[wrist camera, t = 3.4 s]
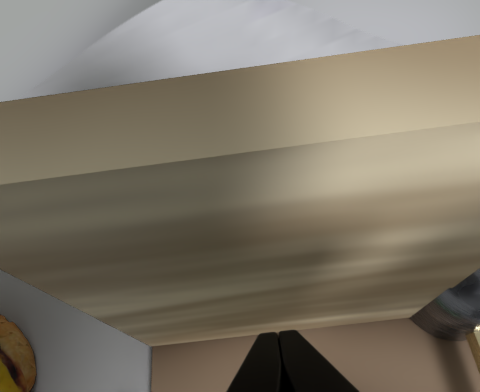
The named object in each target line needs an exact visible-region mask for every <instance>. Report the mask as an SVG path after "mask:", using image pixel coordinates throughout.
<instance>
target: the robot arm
mask: <svg viewBox="0 0 480 392" xmlns="http://www.w3.org/2000/svg"><path fill="white" fill-rule="evenodd" d="M226 392H360V391H359V390H358V389H357V388H356V387H355V386H354V385H353V384H352V383H350V382H349V381H348V380H347V379H346V378H345V377H344V376H343V375H342V374H341V373H340V372H339V371H338V370H337V369H336V368H335V367H334V366H333V365H332V364H331V363H330V362H329V361H328V360H327V359H326V358H325V357H324V356H323V355H322V354H321V353H320V352H319V351H318V350H317V349H316V348H315V347H314V346H313V345H311V344H310V343H309V342H308V341H307V340H306V339H305V338H304V337H303V336H302V335H301V334H300V333H299V332H298V331H297V330H295V329H293V330H284V331H280V332H279V333H278V334H277V333H276V332H266V333H260V334H259V335H258V336H257V338H256V340H255V342H254V343H253V345H252V347H251V349H250V350H249V352H248V354H247V356H246V357H245V359H244V361H243V363H242V365H241V366H240V368H239V370H238V372H237V373H236V375H235V377H234V379H233V380H232V382H231V384H230V386H229V387H228V389H227V391H226Z"/></svg>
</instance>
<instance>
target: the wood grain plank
mask: <svg viewBox="0 0 480 392" xmlns="http://www.w3.org/2000/svg"><path fill="white" fill-rule="evenodd" d="M0 269H1V270H2V271H4V272H6V273H8V274H10V275H12V276H14V277H16V278H18V279H20V280H22V281H24V282H26V283H28V284H30V285H32V286H34V287H36V288H38V289H40V290H42V291H43V292H45V293H47V294H49V295H51V296H53V297H55V298H57V299H59V300H61V301H63V302H65V303H67V304H69V305H71V306H73V307H75V308H77V309H79V310H81V311H82V312H84V313H86V314H88V315H90V316H92V317H94V318H96V319H98V320H100V321H102V322H104V323H106V324H108V325H110V326H112V327H114V328H116V329H118V330H120V331H122V332H123V333H125V334H127V335H129V336H131V337H133V338H135V339H137V340H139V341H141V342H143V343H145V344H147V345H149V346H160V345H169V344H178V343H187V342H196V341H205V340H214V339H223V338H232V337H241V336H250V335H259V334H260V333H266V332H280V331H284V330H293V329H295V330H303V329H312V328H321V327H330V326H339V325H348V324H357V323H366V322H375V321H384V320H393V319H402V318H410V319H411V320H412V321H413V322H414V323H415V324H416V325H417V326H418V327H420V328H421V329H422V330H424V331H425V332H427V333H429V334H430V335H432V336H435V337H437V338H440V339H443V340H448V341H466V340H467V342H468V344H469V347H470V350H471V352H472V355H473V358H474V360H475V363H476V366H477V368H478V371H479V373H480V35H476V36H469V37H462V38H455V39H448V40H441V41H434V42H426V43H419V44H412V45H405V46H398V47H390V48H383V49H376V50H369V51H362V52H355V53H348V54H340V55H333V56H326V57H319V58H312V59H305V60H298V61H290V62H283V63H276V64H269V65H262V66H255V67H248V68H240V69H233V70H226V71H219V72H212V73H205V74H198V75H190V76H183V77H176V78H169V79H162V80H155V81H148V82H140V83H133V84H126V85H119V86H112V87H105V88H98V89H90V90H83V91H76V92H69V93H62V94H55V95H47V96H40V97H33V98H26V99H19V100H12V101H5V102H0Z"/></svg>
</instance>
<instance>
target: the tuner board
mask: <svg viewBox="0 0 480 392" xmlns="http://www.w3.org/2000/svg"><path fill="white" fill-rule="evenodd" d="M297 331H298V332H299V333H300V334H301V335H302V336H303V337H304V338H305V339H306V340H307V341H308V342H309V343H310V344H311V345H313V346H314V347H315V348H316V349H317V350H318V351H319V352H320V353H321V354H322V355H323V356H324V357H325V358H326V359H327V360H328V361H329V362H330V363H331V364H332V365H333V366H334V367H335V368H336V369H337V370H338V371H339V372H340V373H341V374H342V375H343V376H344V377H345V378H346V379H347V380H348V381H349V382H350V383H352V384H353V385H354V386H355V387H356V388H357V389H358V390H359V391H360V392H480V373H479V371H478V368H477V366H476V363H475V360H474V358H473V355H472V352H471V350H470V347H469V344H468V342H467V340H466V341H448V340H443V339H440V338H437V337H435V336H432V335H430V334H429V333H427V332H425V331H424V330H422V329H421V328H420V327H418V326H417V325H416V324H415V323H414V322H413V321H412V320H411V319H410V318H402V319H393V320H384V321H375V322H366V323H357V324H348V325H339V326H330V327H321V328H312V329H303V330H297ZM276 333H277V334H278V333H279V332H276ZM257 336H258V335H250V336H241V337H232V338H223V339H214V340H205V341H196V342H187V343H178V344H169V345H160V346H152V376H151V392H226V391H227V389H228V387H229V386H230V384H231V382H232V380H233V379H234V377H235V375H236V373H237V372H238V370H239V368H240V366H241V365H242V363H243V361H244V359H245V357H246V356H247V354H248V352H249V350H250V349H251V347H252V345H253V343H254V342H255V340H256V338H257Z"/></svg>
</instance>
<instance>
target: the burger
mask: <svg viewBox="0 0 480 392" xmlns="http://www.w3.org/2000/svg"><path fill="white" fill-rule="evenodd" d="M35 376H36V367H35V358H34V354H33V351H32V348H31V346H30V344H29V342H28V340H27V339H26V338H25V337H24V335H23V333H22V332H21V330H20V329H19V328H18V327H17V326H16V324H15V323H14V322H9V321H8V320H6V318H5V317H4V316H2V315H0V392H30V390H31V389H32V387H33V385H34V383H35Z"/></svg>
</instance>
